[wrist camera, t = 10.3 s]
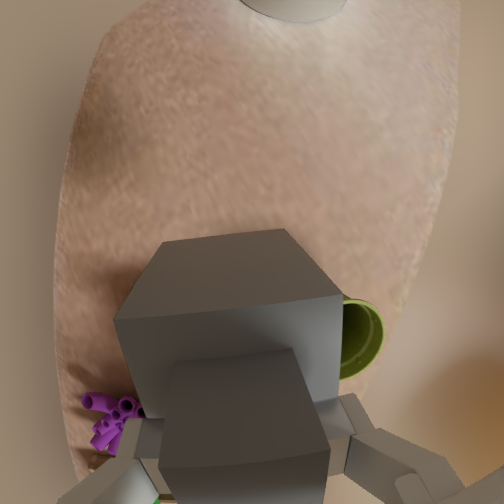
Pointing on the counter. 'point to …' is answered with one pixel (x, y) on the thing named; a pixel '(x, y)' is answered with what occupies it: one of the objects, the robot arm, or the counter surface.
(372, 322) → the plant pot
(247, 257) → the grey stepped block
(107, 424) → the purple tube coral
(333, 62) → the counter surface
